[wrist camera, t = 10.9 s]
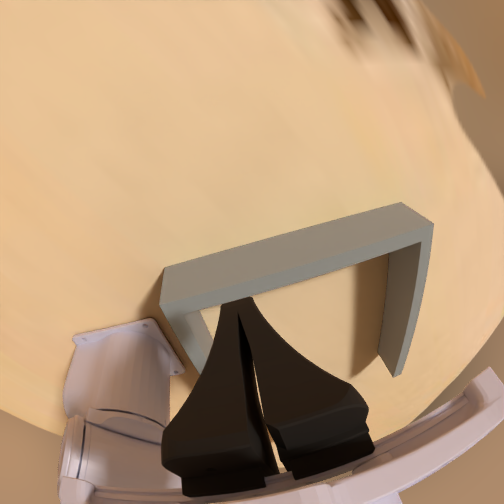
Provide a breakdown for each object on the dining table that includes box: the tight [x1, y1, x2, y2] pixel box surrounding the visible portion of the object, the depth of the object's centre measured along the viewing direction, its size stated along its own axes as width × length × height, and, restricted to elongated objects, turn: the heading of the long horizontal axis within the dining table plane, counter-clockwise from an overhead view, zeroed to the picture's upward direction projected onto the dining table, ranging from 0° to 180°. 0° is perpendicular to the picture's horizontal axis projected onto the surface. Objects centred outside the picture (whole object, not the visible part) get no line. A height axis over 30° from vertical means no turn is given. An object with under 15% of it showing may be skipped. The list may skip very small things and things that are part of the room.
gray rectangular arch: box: [159, 202, 434, 378], centre depth 25 cm, size 20×20×4 cm
